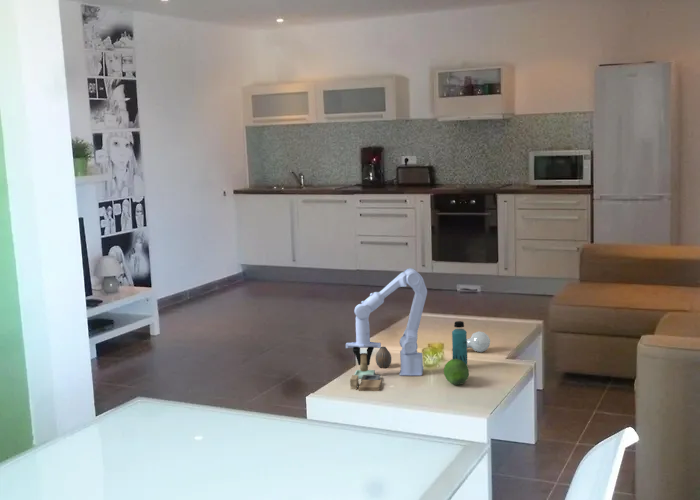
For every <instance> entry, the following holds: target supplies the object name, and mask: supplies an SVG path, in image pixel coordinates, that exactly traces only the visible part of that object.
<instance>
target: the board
mask: <svg viewBox="0 0 700 500" xmlns="http://www.w3.org/2000/svg"><path fill="white" fill-rule="evenodd" d="M382 384H383V383H382V379H380V380H362V381H361V380H360V382H359V385H358V391H359V392H379V391H380V390H381V387H382Z"/></svg>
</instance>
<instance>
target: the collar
mask: <svg viewBox="0 0 700 500" xmlns="http://www.w3.org/2000/svg"><path fill="white" fill-rule="evenodd" d="M362 380H381V374H375V375H363V377H362V379H360V382H361V381H362Z"/></svg>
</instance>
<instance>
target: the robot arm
mask: <svg viewBox="0 0 700 500" xmlns="http://www.w3.org/2000/svg"><path fill="white" fill-rule="evenodd" d="M408 286H409V287H410V288H411V289H412V290H413V292H414V295H413V299H412V302H411V307H410V312H409V314H408V315H409V316H408V321H407V323H406V328H405V330H404V331H403V334H402V336H401V337H400V339H399V345H400V347H401V350H400V351H399V352H400V353H399V355H400V370H399V374H398V375H399V376H418V377H419V376H423V372H424V361H423V359H424V358H423V353H422V352H418V347H419V345H418V332H419V328H420V323H421V320H422V315H423V311H424V306H425V303H426V299H427V295H428V289H427V286H426V283H425V280H424V277H422V275H421V274H420V273H419V271H417V270H416V269H415V268H412V267H411V268H410V267H408V268H407V269H405V270H404V271H402V272H400V273H399V274H398V275H397V276H396V277H395V278H393V279H392V280H391V281H390V282H389V283H388V284H387V285H385V286H384V287H383V288H382V289H381V290H380V291H374V292H371V293H370V294H369V296H368V297H367V298H366V299H365V300H362V301H360V303H359V304H357V305H356V306H355V307H354V310H353V312H354V315H355V341H354V342H353V341H352V342H346V343H345V349H352V352H353V353H354V356H355V358H356V360H357V363H358V364H357V365H358V366H360V354H361V348H362V349H364V348H365V349H366V353H367V365H368V366H370V364H371V363H370V362H371V357H372V354H373V353H374V349H380V348H381V347H382V343H381V342H376V341H375V342H373V341H371V339H370V338H371V336H370V335H371V334H370V333H371V332H370V320H369V318H370V314H371V313H373V312H374V311H376V310H377V308H379V307H380V306H381V305H383V304H384V302H385V298H387V297H388V296H389V295H391V294H392V293H394V292H395V291H396V290H398V288H401V287H402V288H403V287H404V288H405V287H408Z"/></svg>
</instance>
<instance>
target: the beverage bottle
mask: <svg viewBox="0 0 700 500" xmlns="http://www.w3.org/2000/svg"><path fill="white" fill-rule="evenodd" d="M453 326H454V328H455V329H453V330H452V332H451V340H452V350H451V351H452V352H451V353H452V356H451V357H452V359H460V360H462V361H464V362H465V363H466V365H467V364H468V348H467V339H468V337H467V331H466V330H465V328H464V327H465V323H464V321H463V320H457V321H454V325H453ZM467 366H468V365H467Z"/></svg>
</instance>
